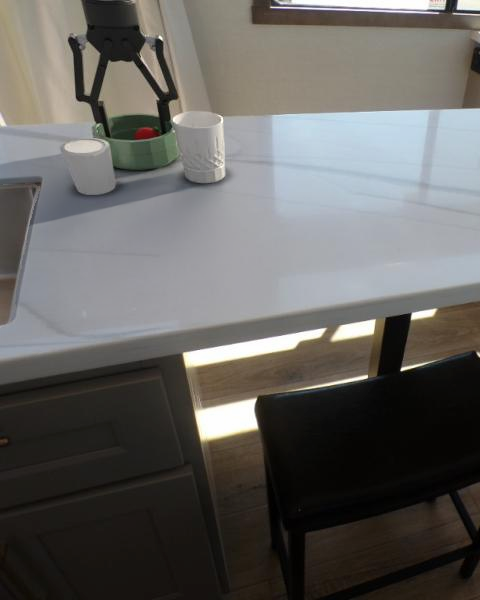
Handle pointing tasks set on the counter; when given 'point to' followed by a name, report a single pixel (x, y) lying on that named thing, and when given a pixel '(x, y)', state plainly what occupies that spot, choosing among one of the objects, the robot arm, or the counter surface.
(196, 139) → the white cup
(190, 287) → the counter surface
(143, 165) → the bowl
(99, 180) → the white cylinder
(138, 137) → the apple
